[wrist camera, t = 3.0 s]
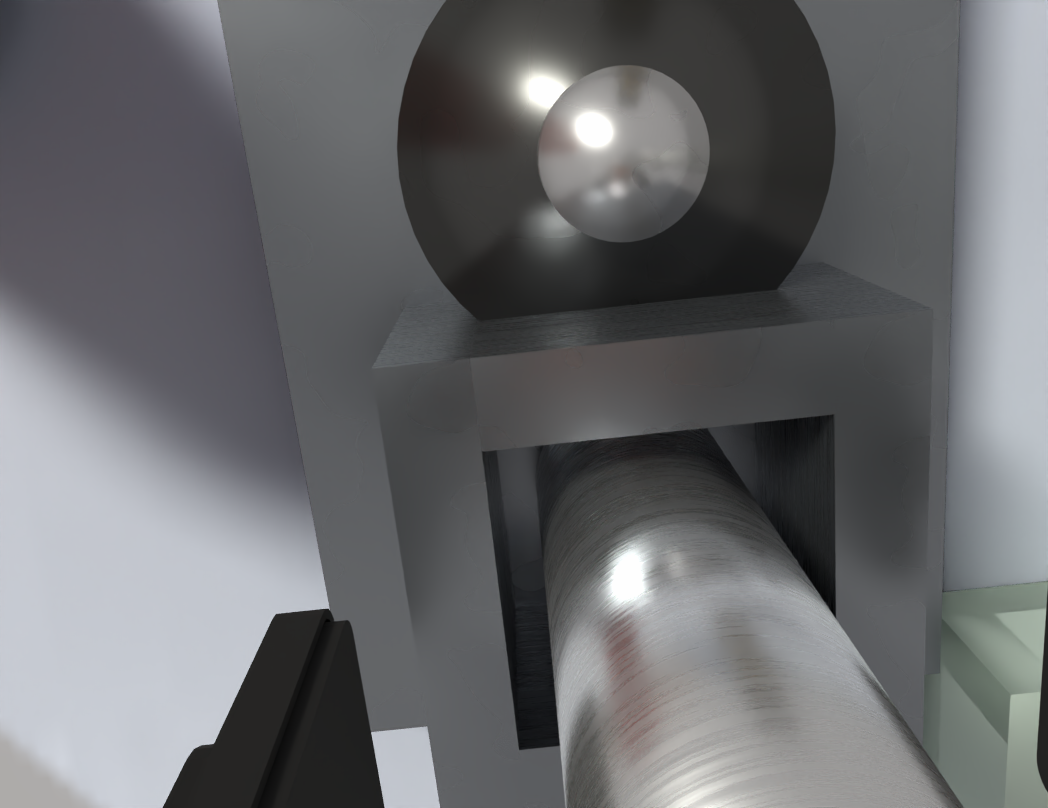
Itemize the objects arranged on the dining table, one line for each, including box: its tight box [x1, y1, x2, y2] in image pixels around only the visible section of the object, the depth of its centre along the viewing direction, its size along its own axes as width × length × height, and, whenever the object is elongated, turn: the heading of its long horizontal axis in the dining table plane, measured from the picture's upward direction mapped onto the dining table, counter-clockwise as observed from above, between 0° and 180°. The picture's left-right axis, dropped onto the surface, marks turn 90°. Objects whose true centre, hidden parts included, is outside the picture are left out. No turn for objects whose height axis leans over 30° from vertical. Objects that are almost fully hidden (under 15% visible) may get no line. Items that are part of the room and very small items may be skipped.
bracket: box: [217, 0, 960, 808], centre depth 14 cm, size 11×14×6 cm
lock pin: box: [536, 428, 964, 808], centre depth 10 cm, size 4×4×12 cm
